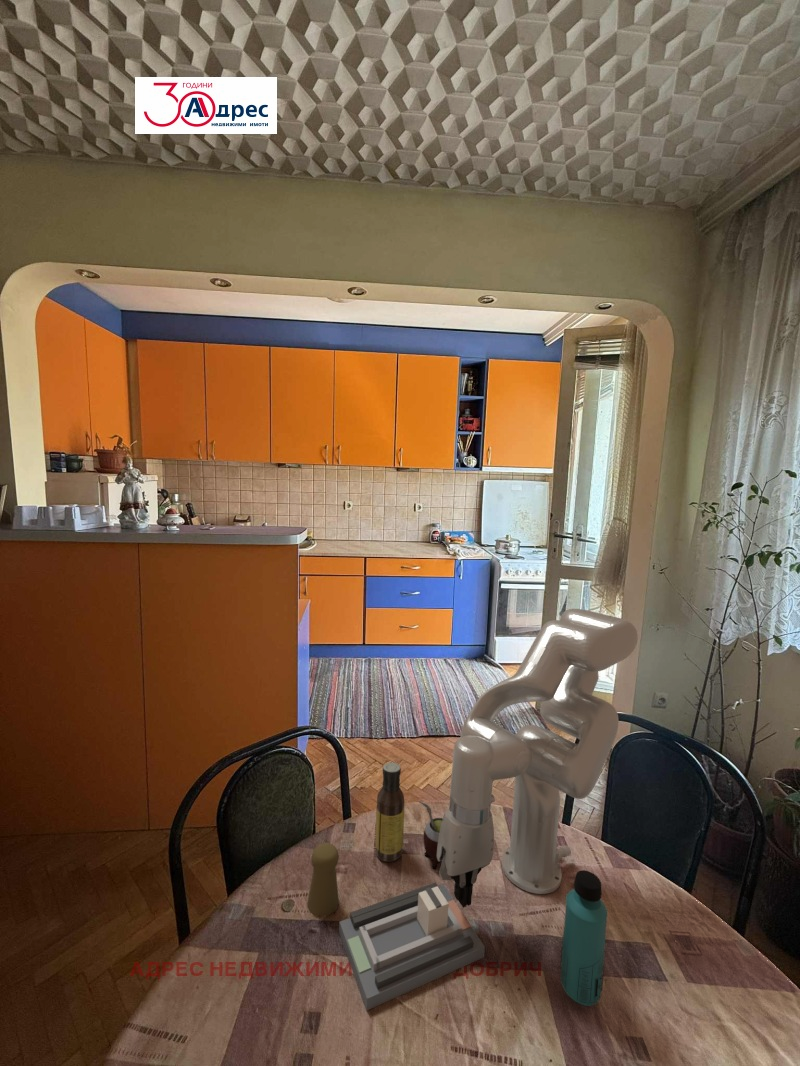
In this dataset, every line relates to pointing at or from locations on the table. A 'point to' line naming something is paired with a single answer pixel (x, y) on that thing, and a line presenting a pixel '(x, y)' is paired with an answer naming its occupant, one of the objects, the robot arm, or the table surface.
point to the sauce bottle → (390, 815)
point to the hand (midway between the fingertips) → (462, 900)
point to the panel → (404, 946)
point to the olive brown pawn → (323, 881)
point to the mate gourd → (432, 837)
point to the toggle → (432, 910)
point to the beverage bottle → (584, 940)
